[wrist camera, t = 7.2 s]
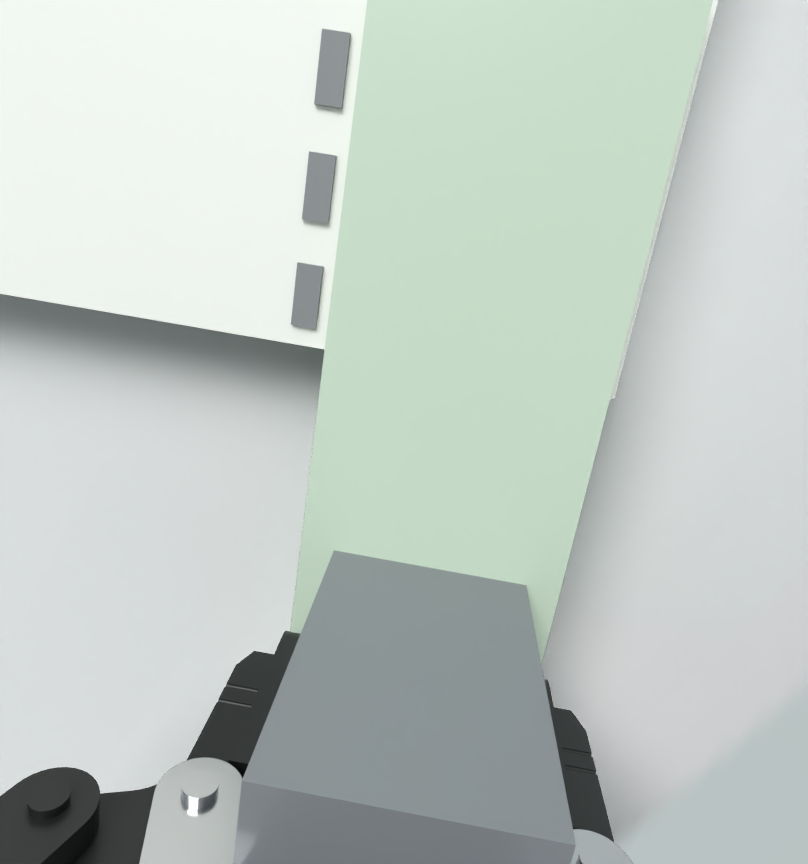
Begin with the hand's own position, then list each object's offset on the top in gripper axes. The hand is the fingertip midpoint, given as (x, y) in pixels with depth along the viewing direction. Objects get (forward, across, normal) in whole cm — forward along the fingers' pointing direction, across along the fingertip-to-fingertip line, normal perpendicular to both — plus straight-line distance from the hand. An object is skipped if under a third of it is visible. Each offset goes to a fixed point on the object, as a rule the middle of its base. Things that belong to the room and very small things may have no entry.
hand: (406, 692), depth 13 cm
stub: (+1, 0, -5) cm, 6 cm away
